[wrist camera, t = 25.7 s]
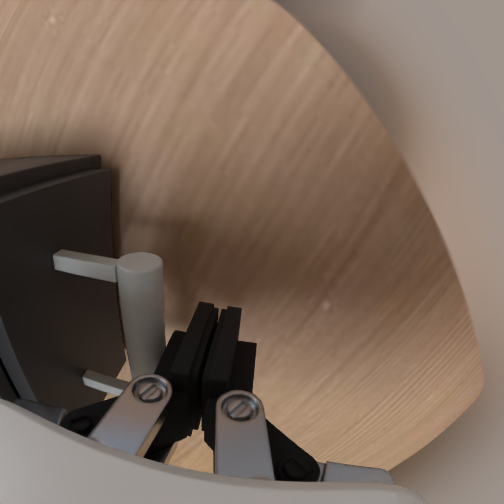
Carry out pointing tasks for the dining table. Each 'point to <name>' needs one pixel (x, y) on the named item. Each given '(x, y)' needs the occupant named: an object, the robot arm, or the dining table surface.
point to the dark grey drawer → (73, 294)
